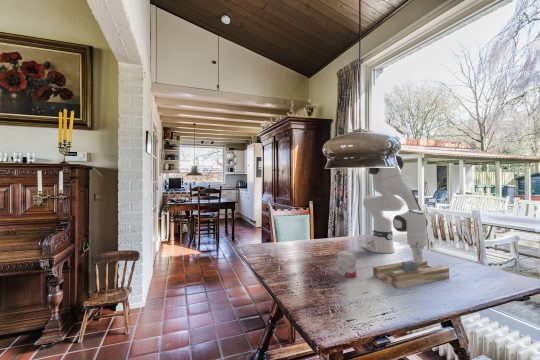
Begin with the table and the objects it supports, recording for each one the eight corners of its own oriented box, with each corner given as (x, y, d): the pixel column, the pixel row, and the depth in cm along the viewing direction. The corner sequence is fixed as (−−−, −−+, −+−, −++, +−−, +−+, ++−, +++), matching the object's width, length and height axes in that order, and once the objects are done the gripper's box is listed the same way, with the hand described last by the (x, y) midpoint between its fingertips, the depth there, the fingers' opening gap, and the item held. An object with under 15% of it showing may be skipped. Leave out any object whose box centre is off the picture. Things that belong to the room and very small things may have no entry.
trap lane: (373, 276, 133) (372, 267, 133) (420, 267, 144) (420, 258, 144) (398, 288, 117) (397, 277, 117) (449, 277, 129) (449, 267, 129)
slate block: (402, 269, 134) (402, 261, 134) (411, 268, 134) (411, 261, 134) (408, 272, 129) (408, 264, 129) (417, 272, 129) (417, 264, 129)
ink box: (356, 276, 133) (356, 254, 133) (350, 278, 130) (350, 255, 130) (343, 271, 140) (343, 250, 140) (337, 273, 138) (337, 251, 138)
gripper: (425, 246, 121) (426, 275, 121) (422, 237, 140) (423, 262, 140) (410, 245, 124) (411, 273, 124) (409, 236, 143) (409, 261, 142)
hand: (417, 267), depth 132 cm, fingers closed
